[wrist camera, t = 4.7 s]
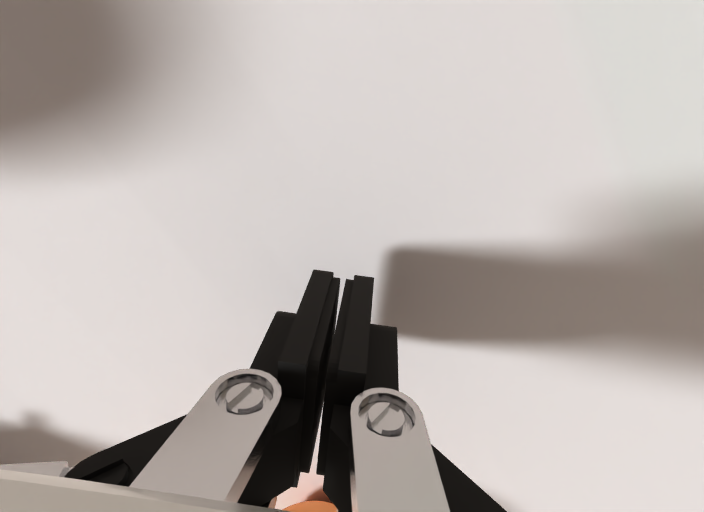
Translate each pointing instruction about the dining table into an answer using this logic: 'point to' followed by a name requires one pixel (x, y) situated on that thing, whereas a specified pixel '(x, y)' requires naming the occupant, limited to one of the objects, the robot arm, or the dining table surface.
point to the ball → (312, 507)
